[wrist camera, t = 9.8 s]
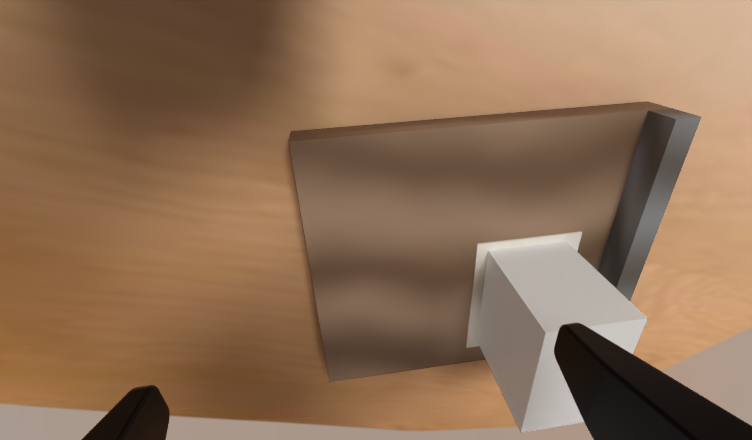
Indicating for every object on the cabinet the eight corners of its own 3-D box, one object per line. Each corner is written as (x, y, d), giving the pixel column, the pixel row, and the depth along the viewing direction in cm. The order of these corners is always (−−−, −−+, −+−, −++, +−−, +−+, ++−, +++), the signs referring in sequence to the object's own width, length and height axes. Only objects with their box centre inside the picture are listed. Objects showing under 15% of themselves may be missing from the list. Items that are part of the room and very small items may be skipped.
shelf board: (290, 131, 17) (286, 154, 15) (651, 101, 19) (705, 116, 16) (328, 363, 25) (329, 404, 23) (580, 327, 27) (609, 362, 24)
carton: (476, 340, 24) (520, 432, 19) (488, 250, 20) (545, 332, 15) (548, 330, 24) (610, 417, 19) (570, 240, 21) (654, 317, 16)
